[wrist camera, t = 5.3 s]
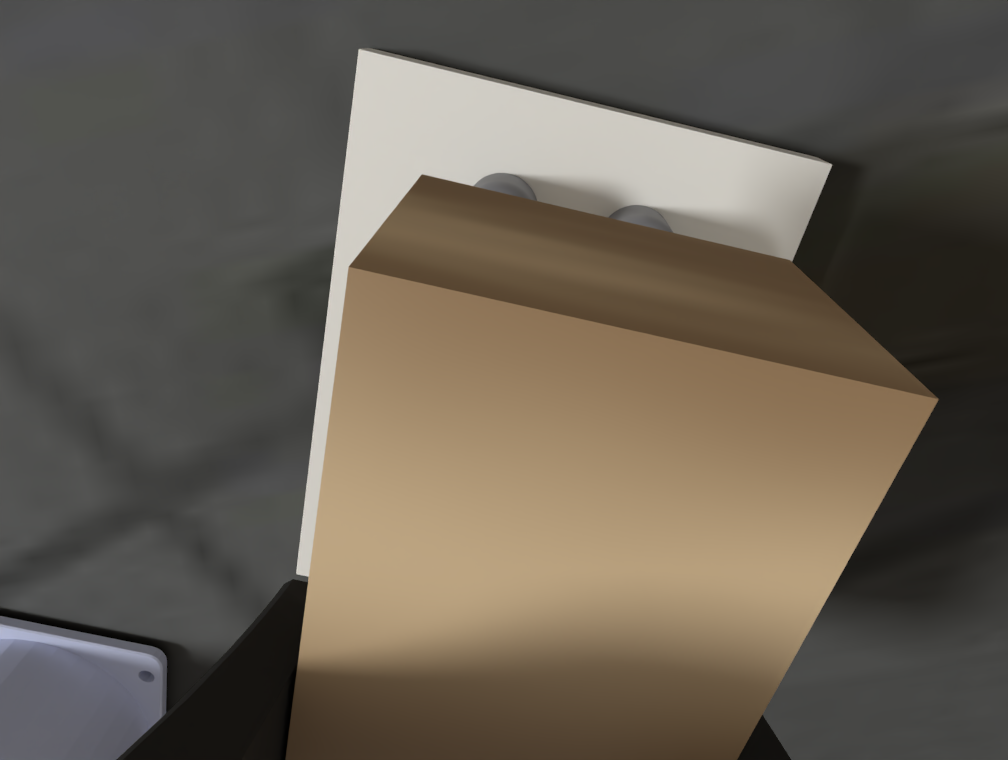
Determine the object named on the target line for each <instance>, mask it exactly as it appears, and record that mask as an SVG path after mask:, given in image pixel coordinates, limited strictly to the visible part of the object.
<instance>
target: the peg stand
mask: <svg viewBox="0 0 1008 760" xmlns="http://www.w3.org/2000/svg"><path fill="white" fill-rule="evenodd" d="M831 167H832V164H830V163H828V162H826V161H824V160H822V159H820V158H817V157H814V156H810V155H806V154H802V153H798V152H794V151H790V150H786V149H782V148H778V147H773V146H769V145H765V144H761V143H757V142H753V141H749V140H745V139H741V138H737V137H733V136H728V135H724V134H720V133H716V132H712V131H708V130H704V129H700V128H696V127H692V126H687V125H683V124H679V123H675V122H671V121H667V120H663V119H659V118H655V117H651V116H647V115H642V114H638V113H634V112H630V111H626V110H622V109H618V108H614V107H610V106H606V105H601V104H597V103H593V102H589V101H585V100H581V99H577V98H573V97H569V96H565V95H561V94H556V93H552V92H548V91H544V90H540V89H536V88H532V87H528V86H524V85H520V84H516V83H511V82H507V81H503V80H499V79H495V78H491V77H487V76H483V75H479V74H475V73H470V72H466V71H462V70H458V69H454V68H450V67H446V66H442V65H438V64H434V63H430V62H425V61H421V60H417V59H413V58H409V57H405V56H401V55H397V54H393V53H389V52H384V51H380V50H376V49H372V48H364V49H359V52H358V61H357V69H356V77H355V86H354V94H353V103H352V111H351V119H350V128H349V136H348V144H347V153H346V161H345V169H344V178H343V186H342V195H341V203H340V211H339V220H338V228H337V236H336V245H335V253H334V261H333V270H332V278H331V286H330V295H329V303H328V312H327V320H326V328H325V337H324V345H323V353H322V362H321V370H320V378H319V387H318V395H317V404H316V412H315V420H314V429H313V437H312V445H311V454H310V462H309V470H308V479H307V487H306V495H305V504H304V512H303V521H302V529H301V537H300V546H299V554H298V562H297V571H296V574H298V575H303V576H308V577H309V572H310V564H311V556H312V548H313V540H314V533H315V525H316V517H317V509H318V501H319V494H320V486H321V478H322V470H323V462H324V455H325V447H326V439H327V431H328V423H329V416H330V408H331V400H332V392H333V385H334V377H335V369H336V361H337V353H338V346H339V338H340V330H341V322H342V314H343V307H344V299H345V291H346V283H347V275H348V268H349V266H350V264H351V263H352V262H353V261H354V259H355V258H356V257H357V256H358V254H359V253H360V252H361V251H362V249H363V248H364V247H365V246H366V244H367V243H368V242H369V240H370V239H371V238H372V237H373V235H374V234H375V233H376V232H377V230H378V229H379V228H380V227H381V225H382V224H383V223H384V222H385V220H386V219H387V218H388V216H389V215H390V214H391V213H392V211H393V210H394V209H395V208H396V206H397V205H398V204H399V203H400V201H401V200H402V199H403V197H404V196H405V195H406V194H407V192H408V191H409V190H410V189H411V187H412V186H413V185H414V184H415V182H416V181H417V180H418V179H419V177H420V176H421V175H422V174H423V175H427V176H432V177H436V178H440V179H445V180H449V181H453V182H457V183H462V184H466V185H470V186H475V187H479V188H483V189H488V190H492V191H496V192H500V193H505V194H509V195H513V196H518V197H522V198H526V199H530V200H535V201H539V202H543V203H548V204H552V205H556V206H560V207H565V208H569V209H573V210H578V211H582V212H586V213H590V214H595V215H599V216H603V217H608V218H612V219H616V220H620V221H625V222H629V223H633V224H638V225H642V226H646V227H651V228H655V229H659V230H663V231H668V232H672V233H676V234H681V235H685V236H689V237H693V238H698V239H702V240H706V241H711V242H715V243H719V244H723V245H728V246H732V247H736V248H741V249H745V250H749V251H753V252H758V253H762V254H766V255H771V256H775V257H779V258H783V259H788V260H790V261H791V262H792V261H793V258H794V256H795V254H796V251H797V249H798V246H799V244H800V242H801V239H802V237H803V234H804V232H805V229H806V227H807V225H808V222H809V220H810V217H811V215H812V213H813V210H814V208H815V205H816V203H817V201H818V198H819V196H820V193H821V191H822V189H823V186H824V184H825V181H826V179H827V176H828V174H829V172H830V169H831Z"/></svg>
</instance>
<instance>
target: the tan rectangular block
mask: <svg viewBox="0 0 1008 760" xmlns="http://www.w3.org/2000/svg"><path fill="white" fill-rule="evenodd" d="M938 400H939V399H938V398H937V397H936V396H935V395H934V394H933V393H932V392H930V391H929V390H928V389H927V388H926V387H925V386H924V385H923V384H922V383H921V382H920V381H919V380H918V379H917V378H915V377H914V376H913V375H912V374H911V373H910V372H909V371H908V370H907V369H906V368H905V367H904V366H903V365H902V364H900V363H899V362H898V361H897V360H896V359H895V358H894V357H893V356H892V355H891V354H890V353H889V352H888V351H887V350H886V349H884V348H883V347H882V346H881V345H880V344H879V343H878V342H877V341H876V340H875V339H874V338H873V337H872V336H871V335H869V334H868V333H867V332H866V331H865V330H864V329H863V328H862V327H861V326H860V325H859V324H858V323H857V322H856V321H854V320H853V319H852V318H851V317H850V316H849V315H848V314H847V313H846V312H845V311H844V310H843V309H842V308H841V307H839V306H838V305H837V304H836V303H835V302H834V301H833V300H832V299H831V298H830V297H829V296H828V295H827V294H826V293H824V292H823V291H822V290H821V289H820V288H819V287H818V286H817V285H816V284H815V283H814V282H813V281H812V280H811V279H809V278H808V277H807V276H806V275H805V274H804V273H803V272H802V271H801V270H800V269H799V268H798V267H797V266H796V265H795V264H793V263H792V262H791V261H790V260H788V259H783V258H779V257H775V256H771V255H766V254H762V253H758V252H753V251H749V250H745V249H741V248H736V247H732V246H728V245H723V244H719V243H715V242H711V241H706V240H702V239H698V238H693V237H689V236H685V235H681V234H676V233H672V232H668V231H663V230H659V229H655V228H651V227H646V226H642V225H638V224H633V223H629V222H625V221H620V220H616V219H612V218H608V217H603V216H599V215H595V214H590V213H586V212H582V211H578V210H573V209H569V208H565V207H560V206H556V205H552V204H548V203H543V202H539V201H535V200H530V199H526V198H522V197H518V196H513V195H509V194H505V193H500V192H496V191H492V190H488V189H483V188H479V187H475V186H470V185H466V184H462V183H457V182H453V181H449V180H445V179H440V178H436V177H432V176H427V175H423V174H422V175H421V176H420V177H419V179H418V180H417V181H416V182H415V184H414V185H413V186H412V187H411V189H410V190H409V191H408V192H407V194H406V195H405V196H404V197H403V199H402V200H401V201H400V203H399V204H398V205H397V206H396V208H395V209H394V210H393V211H392V213H391V214H390V215H389V216H388V218H387V219H386V220H385V222H384V223H383V224H382V225H381V227H380V228H379V229H378V230H377V232H376V233H375V234H374V235H373V237H372V238H371V239H370V240H369V242H368V243H367V244H366V246H365V247H364V248H363V249H362V251H361V252H360V253H359V254H358V256H357V257H356V258H355V259H354V261H353V262H352V263H351V264H350V266H349V268H348V275H347V283H346V291H345V299H344V307H343V314H342V322H341V330H340V338H339V346H338V353H337V361H336V369H335V377H334V385H333V392H332V400H331V408H330V416H329V423H328V431H327V439H326V447H325V455H324V462H323V470H322V478H321V486H320V494H319V501H318V509H317V517H316V525H315V533H314V540H313V548H312V556H311V564H310V572H309V579H308V587H307V595H306V603H305V611H304V618H303V626H302V634H301V642H300V650H299V657H298V665H297V673H296V681H295V689H294V696H293V704H292V712H291V720H290V728H289V735H288V743H287V751H286V759H285V760H737V759H738V757H739V755H740V753H741V752H742V750H743V748H744V746H745V745H746V743H747V741H748V739H749V737H750V736H751V734H752V732H753V730H754V728H755V727H756V725H757V723H758V721H759V720H760V718H761V716H762V714H763V712H764V711H765V709H766V707H767V705H768V703H769V702H770V700H771V698H772V696H773V695H774V693H775V691H776V689H777V687H778V686H779V684H780V682H781V680H782V678H783V677H784V675H785V673H786V671H787V670H788V668H789V666H790V664H791V662H792V661H793V659H794V657H795V655H796V653H797V652H798V650H799V648H800V646H801V645H802V643H803V641H804V639H805V637H806V636H807V634H808V632H809V630H810V628H811V627H812V625H813V623H814V621H815V620H816V618H817V616H818V614H819V612H820V611H821V609H822V607H823V605H824V603H825V602H826V600H827V598H828V596H829V595H830V593H831V591H832V589H833V587H834V586H835V584H836V582H837V580H838V578H839V577H840V575H841V573H842V571H843V569H844V568H845V566H846V564H847V562H848V561H849V559H850V557H851V555H852V553H853V552H854V550H855V548H856V546H857V544H858V543H859V541H860V539H861V537H862V536H863V534H864V532H865V530H866V528H867V527H868V525H869V523H870V521H871V519H872V518H873V516H874V514H875V512H876V511H877V509H878V507H879V505H880V503H881V502H882V500H883V498H884V496H885V494H886V493H887V491H888V489H889V487H890V486H891V484H892V482H893V480H894V478H895V477H896V475H897V473H898V471H899V469H900V468H901V466H902V464H903V462H904V461H905V459H906V457H907V455H908V453H909V452H910V450H911V448H912V446H913V444H914V443H915V441H916V439H917V437H918V436H919V434H920V432H921V430H922V428H923V427H924V425H925V423H926V421H927V419H928V418H929V416H930V414H931V412H932V411H933V409H934V407H935V405H936V403H937V402H938Z"/></svg>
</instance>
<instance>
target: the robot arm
mask: <svg viewBox="0 0 1008 760" xmlns="http://www.w3.org/2000/svg"><path fill="white" fill-rule="evenodd" d="M307 587H308V582H303V581H299V580H294V579H293V580H291V581H289V582H287V583H285V584H284V585H283V586H282V588H281V589H280V590H279V592H278V593H277V594H276V595H275V597H274V598H273V599H272V601H271V602H270V603H269V604H268V605H267V607H266V608H265V609H264V610H263V611H262V613H261V614H260V615H259V616H258V617H257V619H256V620H255V621H254V622H253V623H252V624H251V626H250V627H249V628H248V629H247V630H246V631H245V632H244V633H243V635H242V636H241V637H240V638H239V639H238V640H237V641H236V642H235V643H234V644H233V646H232V647H231V648H230V649H229V650H228V651H227V652H226V653H225V654H224V655H223V656H222V657H221V659H220V660H219V661H218V662H217V663H216V664H215V665H214V666H213V667H212V668H211V669H210V670H209V671H208V672H207V673H206V674H205V675H204V676H203V677H202V678H201V679H200V680H199V681H198V682H197V683H196V684H195V685H194V686H193V687H192V688H191V689H190V690H189V691H188V692H187V693H186V694H185V695H184V696H183V697H182V698H181V699H180V700H179V701H178V702H177V703H176V704H175V705H174V706H173V707H172V708H171V709H170V710H169V711H168V712H167V713H166V691H167V658H166V655H165V654H164V653H163V651H161V650H160V649H158V648H156V647H153V646H148V645H143V644H138V643H134V642H129V641H124V640H119V639H114V638H109V637H104V636H99V635H94V634H89V633H84V632H79V631H74V630H69V629H64V628H59V627H54V626H49V625H44V624H39V623H34V622H29V621H24V620H19V619H14V618H9V617H4V616H0V760H285V759H286V751H287V743H288V735H289V728H290V720H291V712H292V704H293V696H294V689H295V681H296V673H297V665H298V657H299V650H300V642H301V634H302V626H303V618H304V611H305V603H306V595H307ZM737 760H791V759H790V757H789V756H788V754H787V752H786V751H785V749H784V748H783V746H782V745H781V743H780V742H779V740H778V738H777V737H776V735H775V734H774V732H773V731H772V729H771V727H770V726H769V724H768V723H767V721H766V720H765V718H764V716H763V715H762V716H761V718H760V720H759V721H758V723H757V725H756V727H755V728H754V730H753V732H752V734H751V736H750V737H749V739H748V741H747V743H746V745H745V746H744V748H743V750H742V752H741V753H740V755H739V757H738V759H737Z"/></svg>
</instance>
